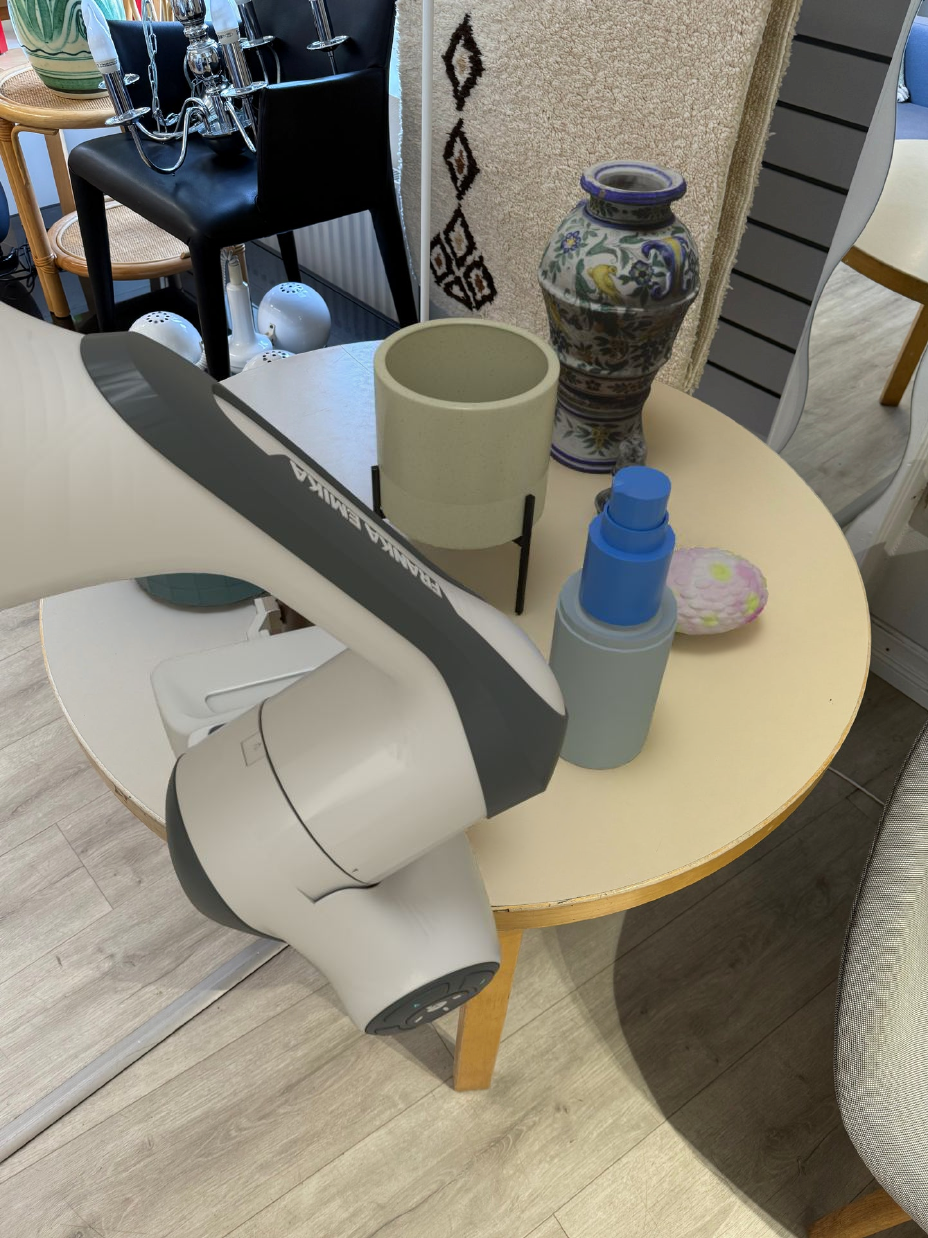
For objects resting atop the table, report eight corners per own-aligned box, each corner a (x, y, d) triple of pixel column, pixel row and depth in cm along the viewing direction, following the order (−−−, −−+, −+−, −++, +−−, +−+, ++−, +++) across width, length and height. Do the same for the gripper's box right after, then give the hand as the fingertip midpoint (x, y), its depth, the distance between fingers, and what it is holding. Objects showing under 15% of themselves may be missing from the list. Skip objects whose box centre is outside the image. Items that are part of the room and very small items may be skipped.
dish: (125, 622, 83) (112, 581, 80) (138, 512, 95) (127, 473, 91) (307, 603, 86) (302, 563, 82) (298, 499, 97) (293, 460, 94)
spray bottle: (639, 688, 79) (699, 445, 62) (653, 771, 73) (724, 526, 55) (537, 685, 79) (569, 440, 62) (543, 768, 73) (579, 521, 55)
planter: (363, 536, 93) (350, 325, 77) (510, 516, 96) (528, 309, 80) (392, 638, 83) (384, 418, 67) (556, 612, 86) (587, 396, 70)
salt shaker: (650, 521, 96) (672, 423, 88) (640, 554, 92) (661, 455, 84) (596, 509, 98) (613, 411, 89) (584, 541, 94) (599, 442, 85)
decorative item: (608, 561, 84) (699, 508, 78) (671, 582, 92) (758, 535, 86) (637, 650, 80) (734, 600, 74) (700, 664, 88) (792, 620, 82)
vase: (576, 504, 98) (617, 221, 77) (495, 426, 109) (511, 160, 88) (695, 464, 104) (762, 192, 83) (607, 394, 115) (647, 138, 94)
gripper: (516, 672, 53) (439, 531, 63) (160, 762, 48) (133, 594, 57) (509, 738, 58) (438, 598, 67) (182, 829, 52) (153, 662, 61)
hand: (295, 597), depth 62 cm, fingers closed on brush, 3 cm apart
